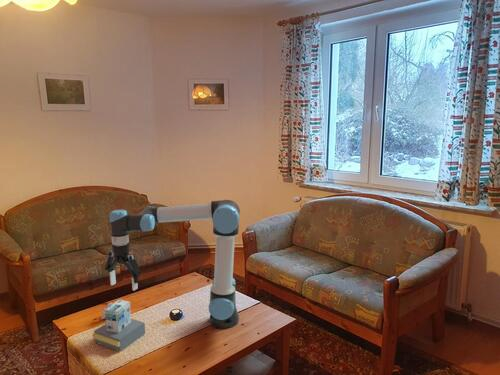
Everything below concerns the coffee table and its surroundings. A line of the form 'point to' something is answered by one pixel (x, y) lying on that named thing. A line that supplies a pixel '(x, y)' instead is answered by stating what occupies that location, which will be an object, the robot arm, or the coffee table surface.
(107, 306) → the water lily
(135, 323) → the book
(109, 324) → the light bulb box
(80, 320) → the coffee table surface
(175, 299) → the coffee table surface
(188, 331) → the coffee table surface
